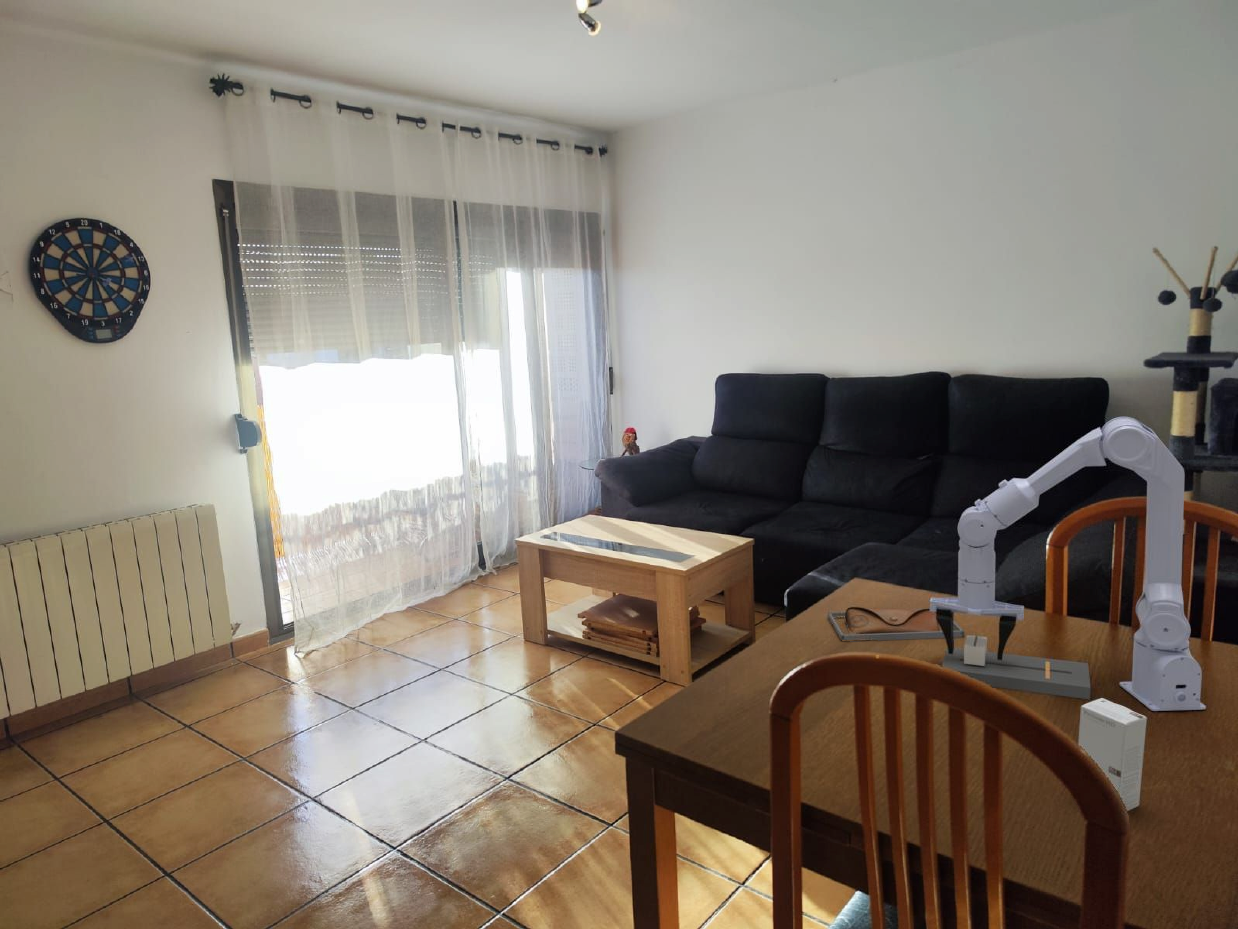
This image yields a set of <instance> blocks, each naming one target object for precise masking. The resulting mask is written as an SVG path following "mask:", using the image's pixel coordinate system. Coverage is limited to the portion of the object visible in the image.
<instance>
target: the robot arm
mask: <svg viewBox="0 0 1238 929" xmlns="http://www.w3.org/2000/svg"><path fill="white" fill-rule="evenodd" d="M1105 459H1108V460H1109V461H1110V462H1111V463H1114V464H1115V465H1117V466H1120V467H1123V468H1125V469H1129V470H1131V471H1134V473H1136V474H1137V475H1138V476H1139V477H1141V478H1142V479H1143V480H1145V481H1146V484H1147V485H1146V519H1145V520H1146V524H1145V565H1144V566H1145V568H1144V569H1145V570H1144V571H1145V573H1144V574H1145V576H1144V580H1143V585H1142V586H1143V587H1142V594H1141V596H1140V597H1139V599H1138V600H1137V601H1136V605H1135V614H1136V617H1137V619H1138V620H1139V623H1140V627H1139V629H1138V630H1137V631H1136V632H1135V633H1134V634H1133V652H1132V672H1131V681H1120V682H1119V686H1120V687H1122V688H1123V689H1124V690H1125V691H1127V693H1129V694H1130V695H1131V696H1133V697H1134V698H1135V699H1137V701H1139V702H1140V703H1142V704H1143V705H1144V706H1146V707H1147V709H1148V710H1150V711H1153V712H1158V711H1161V712H1162V711H1192V710H1193V711H1197V710H1206V708H1207V706H1206V705H1205V704H1204V703H1202V702H1201V692H1202V691H1201V689H1202V677H1203V675H1202V674H1203V672H1202V667H1201V666H1200V663H1198V661H1197V660H1196V659H1195V658H1194V657H1193V655H1192V653H1191V651H1190V641H1189V638H1190V636H1191V631H1192V629H1191V625H1190V623H1189V621H1188V618H1187V617H1186V615H1185V610H1184V608H1185V607H1184V606H1185V605H1184V603H1185V602H1184V594H1183V590H1182V575H1183V574H1182V573H1183V572H1182V570H1183V569H1182V568H1183V545H1184V544H1183V540H1184V536H1183V535H1184V512H1185V511H1184V508H1185V506H1184V504H1185V503H1184V502H1185V498H1184V497H1185V478H1186V477H1185V474H1186V473H1185V468H1184V467H1183V466H1182V465H1181V463H1180V462H1179V461H1178V460H1177V459H1176V457H1175V456H1174V455H1173V454H1172V452H1171V451H1170V450H1169V448H1167V446H1166V445H1165V443H1163V441H1162V440H1161V439H1160V437H1159V436H1158V435H1157V434H1156V433H1155V431H1154V430H1153V429H1151V428H1150V427H1149V426H1147V425H1145V424H1144V423H1143V422H1140V421H1139V420H1137V419H1135V418H1133V417H1130V416H1119V417H1118V416H1117V417H1115V418H1112V419H1110V420H1109V421H1106V423H1105V424H1104V425H1103V426H1102V427H1100V426H1099V427H1097V428H1095V429H1092V430H1091V431H1090V432H1088V433H1086V434H1085V435H1084V436H1081V437H1080V438H1079V439H1077V440H1076V441H1075V442H1073V443H1071V445H1069V446H1068V447H1067V448H1065V449H1064V450H1062V452H1060V453H1059V454H1058V455H1056V456H1055V457H1054V458H1052V459H1051V460H1050V461H1048V462H1047V463H1045V464H1044V465H1043V466H1042V467H1040V468H1039V469H1038V470H1036V471H1035V472H1033V473H1032V474H1031V475H1030V476H1028V477H1027V478H1020V477H1019V478H1016V477H1013V478H1011V479H1010V480H1009V481H1008V480H1006V479H1004V480H1002V481H1001V482H999V483H998V487H999V488H998V489H996V490H995V491H993V492H992V493H990V494H989V495H988V496H986V497H984V498H983V499H982V500H981V499H980V498H978V499H977V500H975V501H974V505H975V506H970V507H968V508H966V509H965V510H964V511H963V512H962V513H961V516H960V518H959V521H958V524H957V533H958V536H959V541H958V547H959V550H958V553H957V554H958V556H957V558H958V560H957V561H958V563H957V564H958V566H957V567H958V568H957V570H958V572H957V577H958V578H957V597H931V598H930V600H929V609H930V611H931V612H937V615H936V619H937V622H938V625H939V628H940V629H941V631H943V634H944V636H945V638H944V640H945V642H946V648H947V647H948V654H953V651H954V648H955V640H954V639H955V638H954V636H953V631H954V629H953V620H954V618H955V616H954V614H955V613H957V614H965V615H966V614H967V615H971V616H972V615H973V616H988V617H996V618H999V621H998V622H999V623H998V648H997V653H998V654H997V660H1002V656H1003V654H1004V652H1005V651H1004V650H1005V648H1006V645H1007V643H1008V641H1009V638H1010V637H1011V635H1012V633H1013V631H1014V630H1015V628H1016V624H1017V621H1024V618H1025V617H1024V616H1025V615H1024V614H1025V613H1024V611H1025V609H1024V608H1025V606H1024V605H1019V604H1012V603H1007V602H1002V601H997V600H996V599H995V598H996V596H995V595H996V591H995V590H996V551H995V539H996V536H997V531H999V530H1005V529H1007V528H1008V527H1009V526H1012V524H1014V523H1015V522H1016V521H1018V520H1021V519H1022V517H1024V516H1026V515H1027V514H1028V513H1030V512H1031V511H1033V510H1034V509H1036V508H1037V507H1038V506H1039V502H1040V501H1039V500H1040V495H1041V494H1043V493H1045V492H1046V491H1048V490H1050V489H1051V488H1053V487H1054V486H1056V485H1058V484H1060V482H1062V481H1064V480H1066V479H1068V477H1071V475H1073V474H1075V473H1076V472H1078V471H1079V470H1081V469H1082V468H1085V467H1104V466H1105V467H1106V466H1107V463H1106V460H1105ZM954 621H955V620H954Z"/></svg>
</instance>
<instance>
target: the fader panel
mask: <svg viewBox="0 0 1238 929" xmlns="http://www.w3.org/2000/svg"><path fill="white" fill-rule="evenodd" d="M997 654H998V652H992V651H987V655H986V661H985V666H980V665H972V664H964V648H958V647H954V651H953V654H948V647H947V646H946V650H945V654H944V656H943V659H942V664H941V667H942V666H943V667H948V668H950V669H952V670H955V671H958V672H960V673H962V674H965V675H968V676H969V677H971V678H975V679H977V680H979V681H982V682H985V683H986V684H989V685H991V686H992V687H991V688H999V689H1006V690H1007V689H1008V690H1015V691H1021V692H1029V693H1036V694H1037V693H1038V694H1043V695H1044V694H1045V695H1051V696H1059V697H1060V696H1061V697H1066V698H1067V697H1068V698H1074V699H1081V700H1083V699H1084V700H1089V701H1090V700H1091V691H1092V690H1091V678H1090V669H1089V663H1088V662H1081V661H1080V662H1079V661H1072V660H1071V661H1070V660H1064V659H1063V660H1062V659H1056V658H1055V659H1054V658H1047V657H1037V656H1028V655H1020V654H1011V653H1003V656H1002V660H997Z"/></svg>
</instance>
